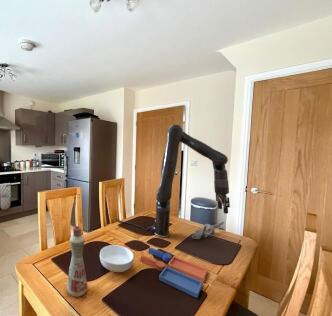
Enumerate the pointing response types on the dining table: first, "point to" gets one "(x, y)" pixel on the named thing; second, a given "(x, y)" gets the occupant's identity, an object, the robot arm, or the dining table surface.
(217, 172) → the robot arm
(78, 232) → the bottle
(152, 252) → the blue spoon
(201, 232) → the spaceship
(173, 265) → the terracotta tray
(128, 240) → the dining table surface
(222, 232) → the dining table surface
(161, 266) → the terracotta spoon
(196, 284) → the blue tray
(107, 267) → the cereal bowl
